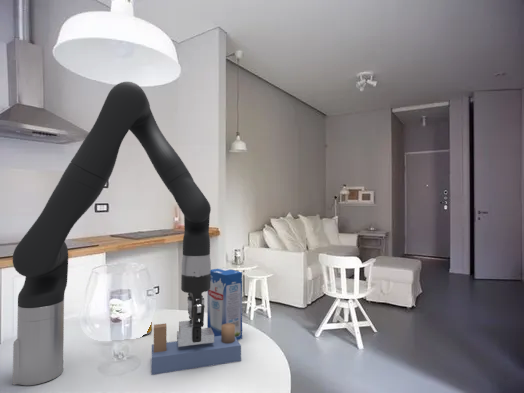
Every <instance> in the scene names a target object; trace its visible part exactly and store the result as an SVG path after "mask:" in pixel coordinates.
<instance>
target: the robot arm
mask: <svg viewBox="0 0 524 393" xmlns="http://www.w3.org/2000/svg"><path fill="white" fill-rule="evenodd" d="M129 131H130V132H131V133H132V134H133V135H134V137H135V138H136V139H137V140H138V142H139V144H140V146H142V148H143V149H144V151H145V153H146V154H147V157H148V158H149V160H150V162H151V164H152V166H153V168H154V170H155V171H156V173H157V174H158V176H159V178H160V179H161V181H162V183H163V184H164V186H165V187H166V189H167V190H168V191H169V192H170V193H171V195H172V196H173V198H174V200H175V202H176V203H177V206H178V208H179V209H180V211H181V212H182V215H183V219H184V220H183V222H184V224H183V226H184V233H183V238H182V239H183V240H182V257H181V258H182V259H181V267H180V270H181V272H180V274H181V275H180V276H181V277H180V278H181V280H180V281H181V282H180V289H181V291H182V292H184V293H186V294H187V300H186V301H187V312H188V315H189V316H188V319H189V321H191V320H192V341H193V342H194V343H195V342H200V341H201V329H202V328H203V327H204V326H205V325H204V322H205V321H204V319H205V318H204V317H205V297H203V296H204V295H202V294H203V293H206V292H208V290H209V289H210V282H211V270H212V269H211V267H212V266H211V238H210V237H211V236H210V233H209V232H210V218H211V217H210V214H211V210H212V209H211V208H212V207H211V204H210V201H209V200H208V199H207V198H206V196H205V195H204V193H203V191H202V190H201V189H200V187H199V186H198V185H197V183H196V182H195V181H194V178H193V176H192V175H191V173H190V171H189V169H188V167H187V166H186V165H185V163H184V162H183V160H182V158H181V157H180V156H179V154H178V153H177V152H176V150H175V149H174V148H173V147H172V145H171V144H170V143H169V140H167V138H166V136H164V134H163V133H162V131H161V129H160V127H159V126H158V123H157V120H156V119H155V117H154V114H153V112H152V108H151V105H150V101H149V98H148V97H147V95H146V93H145V91H144V90H143V88H142V87H141V86H140V85H139V84H137V83H135V82H133V81H123V82H119V83H117V84H115V85H114V86H113V87H112V88H111V89H110V91H109V92H108V94H107V97H106V98H105V100H104V103H103V105H102V107H101V109H100V112H99V114H98V116H97V117H96V120H95V122H94V124H93V126H92V128H91V129H90V131H89V132H88V134H87V135H86V137H85V138H84V139H83V142H82V143H81V144H80V146H79V147H78V149H77V152H76V153H75V154H74V156H73V157H72V158H71V160H70V162H69V164H68V165H67V166H66V168H65V170H64V171H63V174H62V175H61V177H60V179H59V181H58V183H57V185H56V186H55V188H54V189H53V191H52V193H51V195H50V196H49V198H48V200H47V202H46V204H45V206H44V208H43V209H42V211H41V213H40V214H39V216H38V217H37V219H36V220H35V221H34V223H33V224H32V225H31V227H30V228H29V229H28V230H27V231H26V233H25V234H24V236H23V237H22V238H21V239H20V241H19V243H18V244H17V245H16V247H15V248H14V251H13V253H12V265H13V268H14V269H15V271H16V272H17V273H18V274H19V275H20V276H23V277H25V280H24V282H23V285H22V288H21V289H20V292H19V293H18V295H17V321H16V323H17V326H16V328H17V329H16V334H17V335H16V337H17V338H16V339H15V340H14V341H13V347H12V348H13V350H12V355H13V356H12V358H13V359H12V385H21V386H35V385H39V384H40V385H41V384H44V383H47V382H49V381H51V380H54V379H56V378H58V377H59V376H60V375H61V374H63V372H64V343H65V342H64V340H65V339H64V336H65V334H64V330H65V327H64V325H65V322H64V321H65V319H64V318H65V317H64V316H65V293H66V292H65V291H66V289H67V286H68V274H69V250H68V246H67V244H66V239H67V237H68V236H69V234H70V232H71V231H72V229H73V228H74V226H75V224H76V223H77V222H78V221H79V220H80V219H81V218H82V216H84V215H85V213H86V212H87V211H88V210H89V209H90V208H91V207H92V205H93V204H94V203H95V202H96V200H97V199H98V198H99V196H100V195H101V193H102V192H103V190H104V188H105V187H106V185H107V184H108V181H109V179H110V178H111V176H112V174H113V170H114V168H115V165H116V161H117V159H118V154H119V151H120V147H121V145H122V142H123V141H124V139H125V138H126V136H127V134H128V132H129ZM196 320H198V321H199V322H196Z"/></svg>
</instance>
